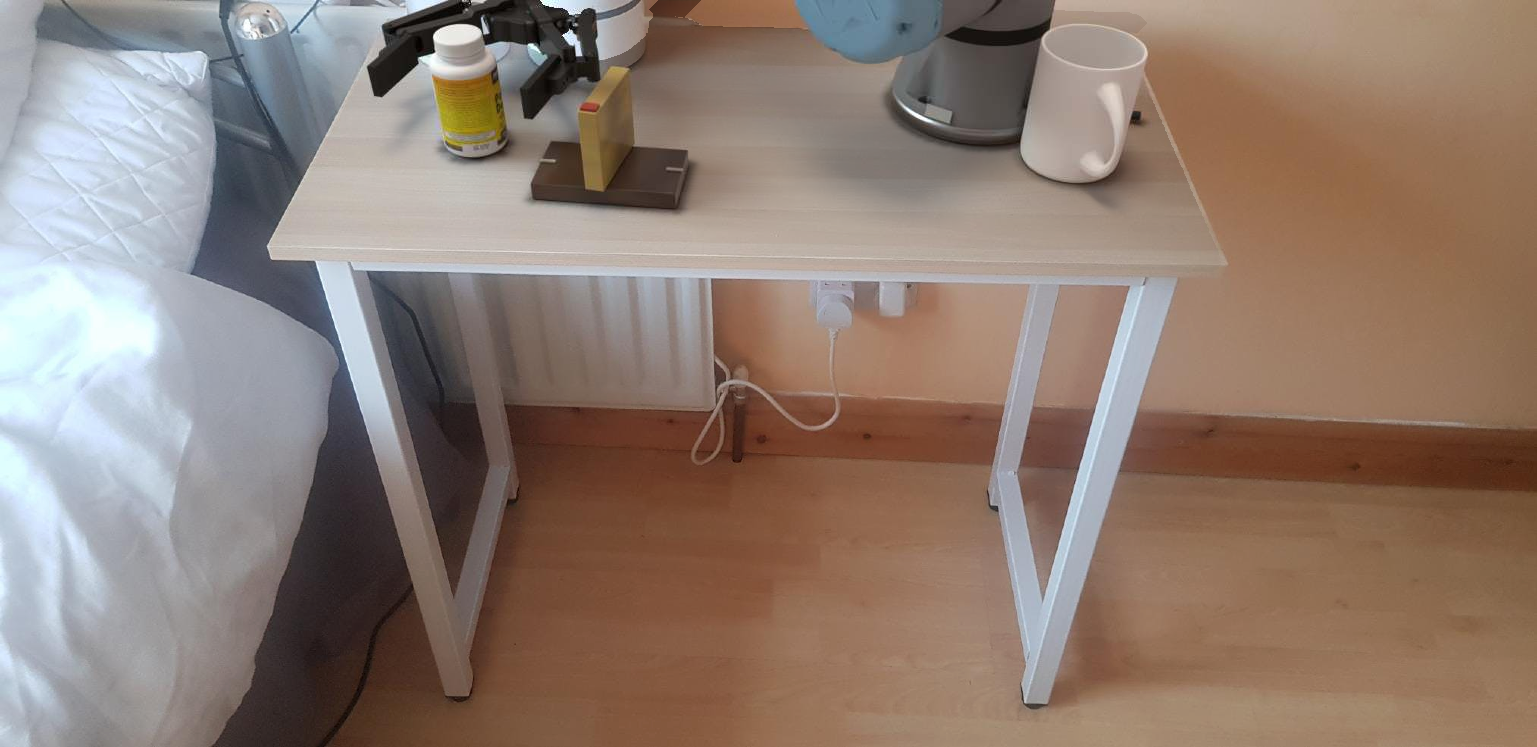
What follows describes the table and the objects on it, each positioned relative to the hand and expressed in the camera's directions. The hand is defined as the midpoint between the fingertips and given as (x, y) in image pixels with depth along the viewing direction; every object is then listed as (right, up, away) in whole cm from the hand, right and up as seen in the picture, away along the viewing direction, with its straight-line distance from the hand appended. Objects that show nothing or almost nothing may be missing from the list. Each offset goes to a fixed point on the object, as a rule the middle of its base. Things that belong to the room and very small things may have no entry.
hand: (449, 93), depth 89 cm
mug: (+53, -5, +6) cm, 54 cm away
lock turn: (+13, -6, +2) cm, 14 cm away
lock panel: (+13, -7, +3) cm, 15 cm away
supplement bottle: (+1, -3, +7) cm, 7 cm away
